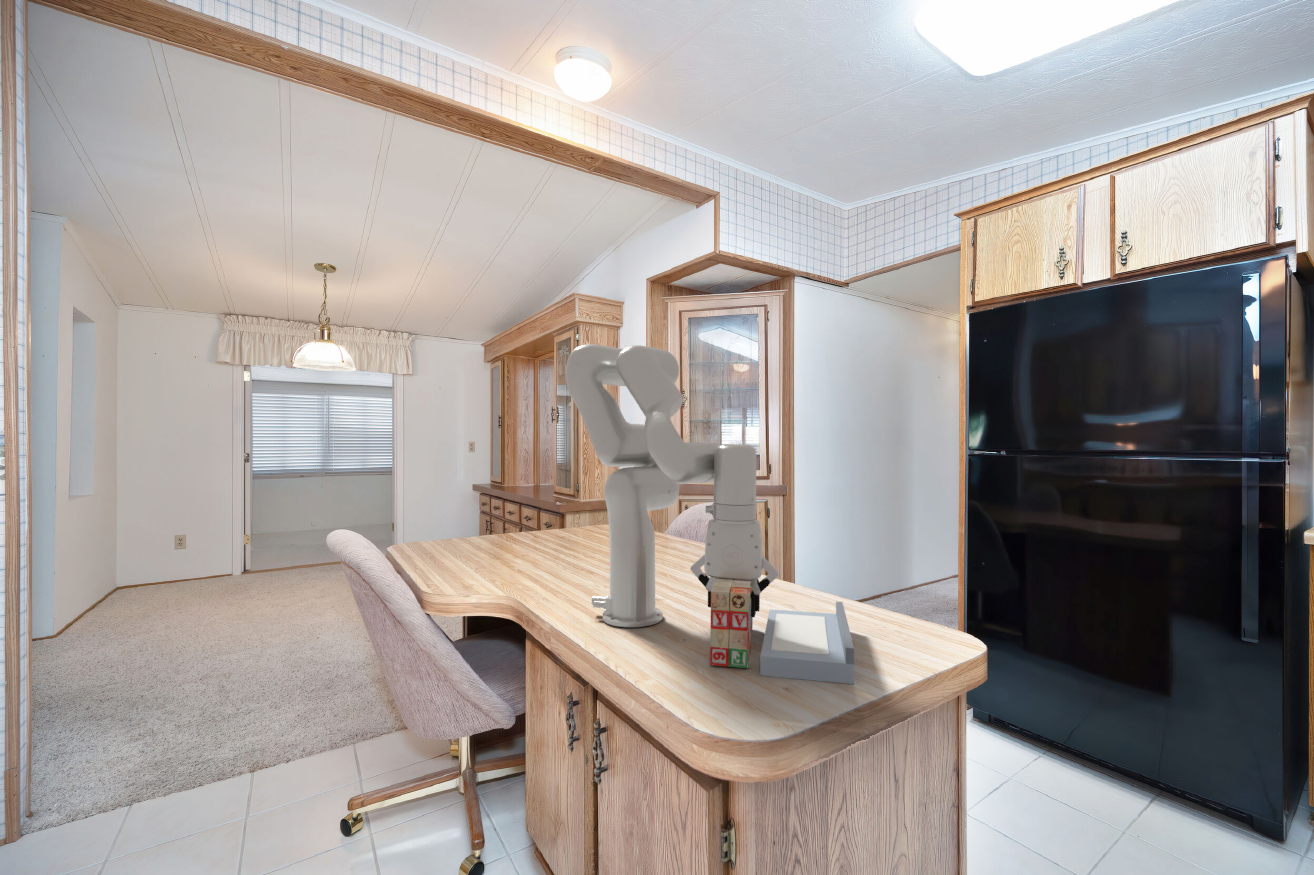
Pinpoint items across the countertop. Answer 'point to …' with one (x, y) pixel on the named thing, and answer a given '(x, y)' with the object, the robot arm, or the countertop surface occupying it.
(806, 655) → the tray
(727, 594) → the stack of blocks
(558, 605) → the countertop surface
